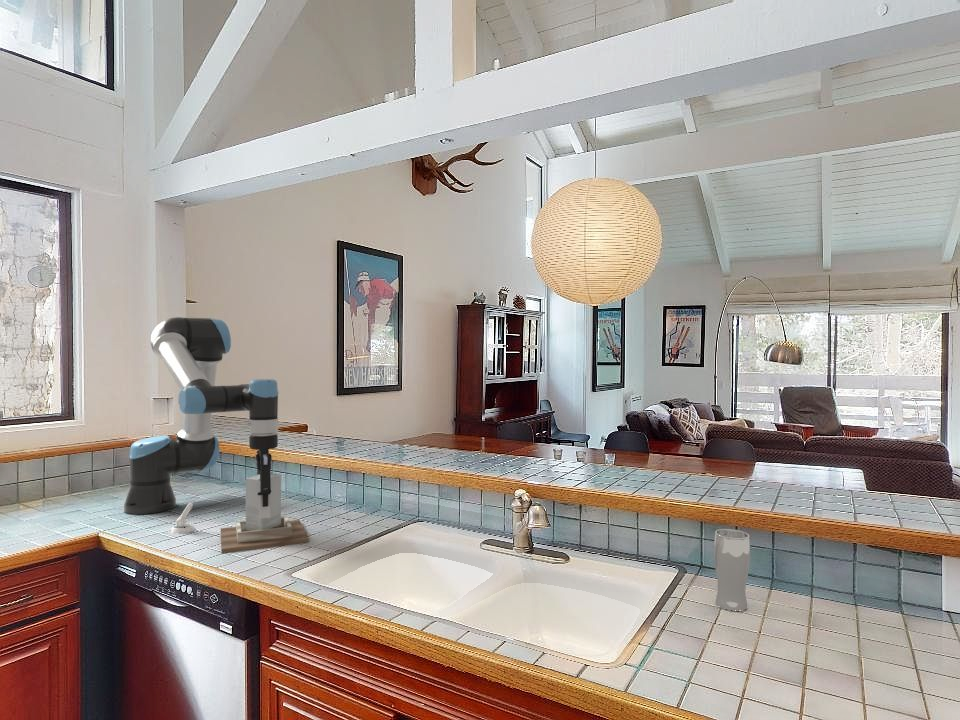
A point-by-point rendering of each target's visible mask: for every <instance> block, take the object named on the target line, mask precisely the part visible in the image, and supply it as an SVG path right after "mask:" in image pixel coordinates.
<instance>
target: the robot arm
mask: <svg viewBox="0 0 960 720" xmlns="http://www.w3.org/2000/svg"><path fill="white" fill-rule="evenodd" d="M231 337H232V336H231V332H230V330H229V326H228V325H227V324H226V322H225V321H224V320H222V319H216V318H211V317H209V318H208V317H207V318H205V317H182V316H181V317H179V316H177V317H170V318H167V319H165V320H163V321H162V322H160V323H159V324H157V326H156V327H155V328H154V330H153V331H152V333H151V336H150V347H151V349H152V351H153V353H154V355H155V356H156V357H157V358H159V359H162V360H163V363H164V364H165V366H166V369H168V371H169V372H170V374H171V376H172V378H173V379H174V381H175V383H176V384H177V386H178V387H179V390H180V391H179V393H178V397H177V398H178V405H179V410H180V411H181V412H182V413H183V423H182V428H181V429H179V430H178V432H177V434H176V438H175V439H172V438H171V437H170V436H168V435H158V436H151V437H146V438H141V439H139V440H136V441H135V442H133V443H132V444H131V446H130V450H129V451H130V452H129V459H130V460H129V465H130V468H129V470H130V472H129V473H130V474H129V475H130V477H129V480H130V484H129V490H128V493H127V495H126V499H125V501H124V504H123V512H124V513H126V514H132V515H145V514H155V513H161V512H165V511H169V510H172V509H174V508H176V507H177V498H176V495H175V493H174V489H173V487H172V485H171V475H176V474H184V473H193V472H202V471H204V470H210V469H211V468H213V467H214V466H215V465H216V464H217V462H218V459H219V455H220V447H219V446H220V442H219V439H218V438H217V437H216V436H215V432H214V431H212V430H211V424H212V414H214V413H229V412H248V413H249V416H248V417H249V422H248V423H246V427H249V433H250V436H249V439H248V441H249V445H248V447H249V449H251V450H254V451H255V450H256V454H255V461H256V462H255V463H256V470H257V471H256V475H259V474H260V492H258V495H260V519H262V518H270V493H271V477H270V473H271V469H272V454H271V453H269V451H270V450H273V449H277V447H278V445H279V444H278V441H279V438H278V437H279V436H278V434H277V433H279V418H278V417H279V416H278V411H279V409H278V408H279V390H278V389H279V388H278V382H277V380H276V379H273V378H271V379H270V378H269V379H268V378H265V379H264V378H257V379H252V380H250V381H249V384H248V383H246V384H243V383H242V384H237V385H235V384H234V385H215V384H216V378H217V375H216V373H217V368H218V367H217V366H218V364H219V363H220V362H222V361H223V355H226V354H228V353H229V352H230V350H231V347H232V339H231Z"/></svg>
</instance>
